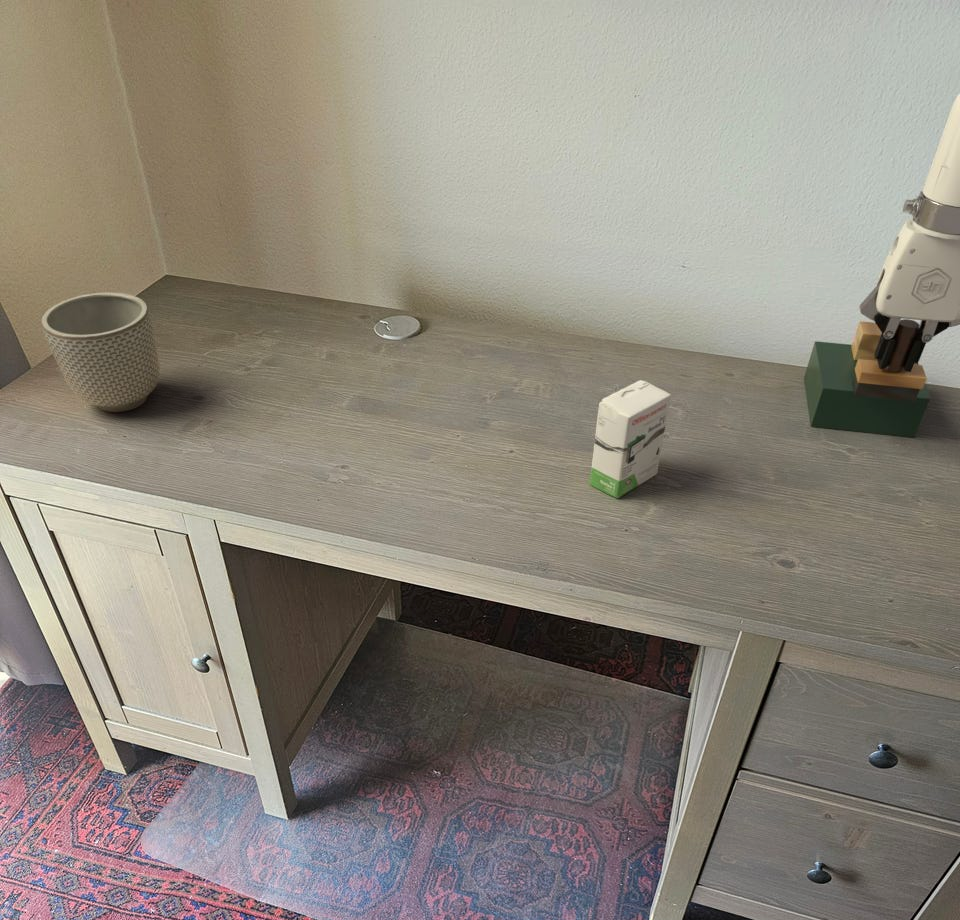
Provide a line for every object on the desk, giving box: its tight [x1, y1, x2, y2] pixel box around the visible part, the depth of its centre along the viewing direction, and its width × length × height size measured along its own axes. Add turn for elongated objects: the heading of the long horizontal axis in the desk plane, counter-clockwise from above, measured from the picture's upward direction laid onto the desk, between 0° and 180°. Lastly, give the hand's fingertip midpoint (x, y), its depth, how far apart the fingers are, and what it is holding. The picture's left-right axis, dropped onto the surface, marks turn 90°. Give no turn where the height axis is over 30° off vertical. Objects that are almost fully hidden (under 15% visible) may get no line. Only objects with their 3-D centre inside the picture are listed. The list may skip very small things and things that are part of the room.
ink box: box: [589, 379, 672, 499], centre depth 108 cm, size 9×5×12 cm, turn 134°
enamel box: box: [803, 341, 931, 438], centre depth 123 cm, size 14×14×6 cm
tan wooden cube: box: [851, 320, 882, 361], centre depth 122 cm, size 4×4×4 cm
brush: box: [852, 318, 928, 402], centre depth 110 cm, size 8×4×10 cm, turn 79°
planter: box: [40, 291, 161, 413], centre depth 120 cm, size 14×14×13 cm
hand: (893, 364), depth 110 cm, fingers closed on brush, 2 cm apart
